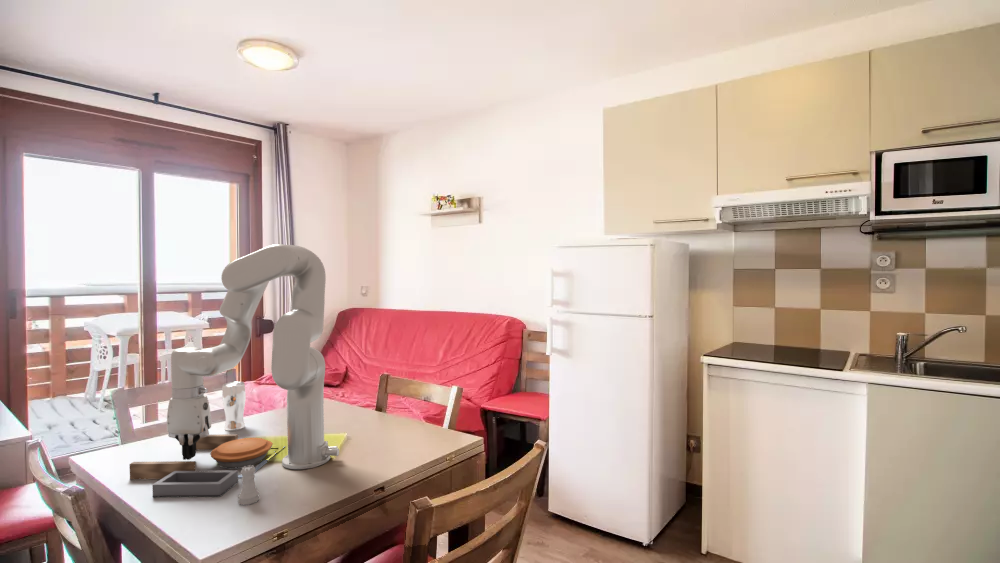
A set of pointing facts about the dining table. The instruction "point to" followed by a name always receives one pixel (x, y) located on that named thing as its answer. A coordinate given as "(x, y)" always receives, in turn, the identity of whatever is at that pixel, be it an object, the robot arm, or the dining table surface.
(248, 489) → the rook chess piece
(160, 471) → the channel walls
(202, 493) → the grey tray
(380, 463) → the dining table surface
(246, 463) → the pie
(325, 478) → the dining table surface
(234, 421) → the beer glass
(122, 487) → the dining table surface
